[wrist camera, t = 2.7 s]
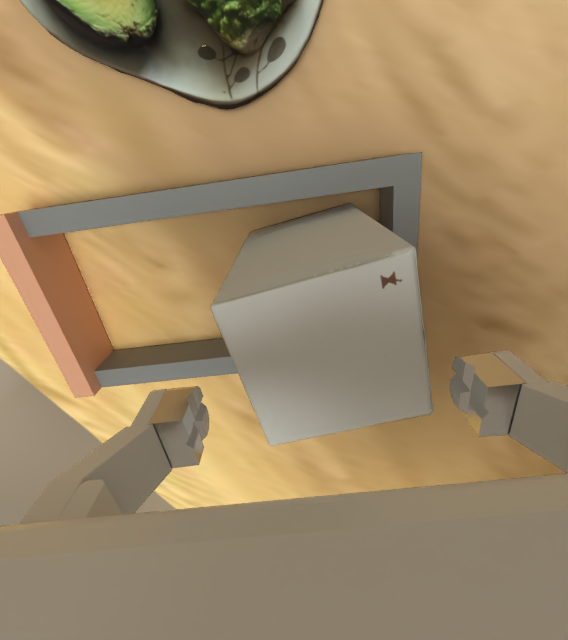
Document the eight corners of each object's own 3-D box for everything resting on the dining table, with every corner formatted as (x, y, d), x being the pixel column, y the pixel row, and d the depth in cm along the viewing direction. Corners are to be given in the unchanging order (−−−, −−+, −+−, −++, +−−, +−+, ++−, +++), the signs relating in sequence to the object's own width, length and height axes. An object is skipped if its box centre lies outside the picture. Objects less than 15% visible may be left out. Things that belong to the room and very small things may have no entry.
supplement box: (246, 230, 22) (202, 299, 11) (352, 200, 21) (425, 241, 10) (275, 322, 25) (265, 451, 14) (369, 299, 24) (440, 418, 13)
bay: (404, 153, 20) (429, 151, 16) (399, 334, 25) (417, 362, 22) (30, 209, 22) (-21, 218, 18) (103, 367, 27) (75, 397, 24)
